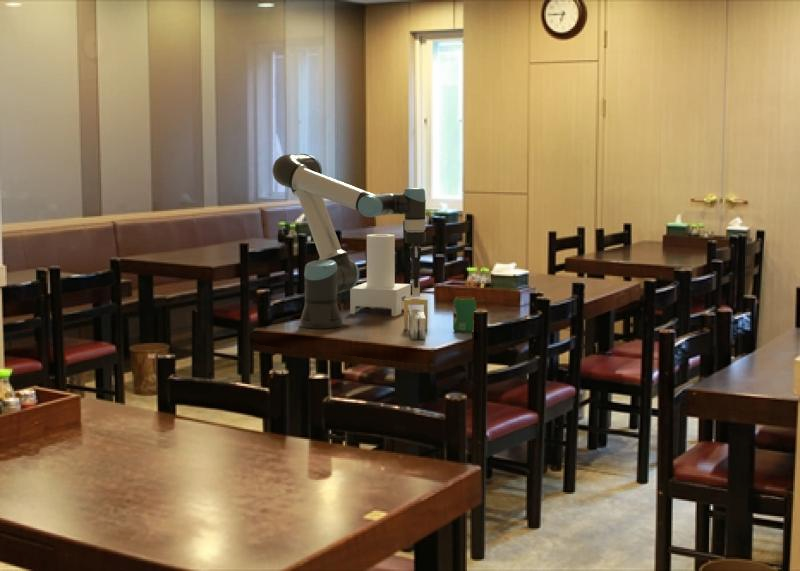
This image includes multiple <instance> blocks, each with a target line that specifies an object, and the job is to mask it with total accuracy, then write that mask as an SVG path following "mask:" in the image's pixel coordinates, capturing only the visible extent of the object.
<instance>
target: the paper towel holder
mask: <svg viewBox="0 0 800 571" xmlns="http://www.w3.org/2000/svg"><path fill="white" fill-rule="evenodd" d="M395 237H396V235H395V234H391V233H390V234H389V233H383V234H382V233H376V234H375V233H374V234H372V233H370V234H367V235H366V282H362V283H361V284H360V283H359V284H358V285H355V286H354V287H353V288H352V289H350V290H349V292H350V294H349V296H350V297H349V299H350V301H349V305H350V307H349V308H350V310H349V311H350V315H355V314H356V312H357V307H360V310H362V309H364V308H390V309H391V316H392V317H397V316H399V315H401V314H402V302H404V299H412V294H411V293H412V283H411V284H410V283H395V282H396V280H395V276H396V275H395V274H396V273H395V272H396V268H395V264H396V260H395V259H396V255H395V253H396V252H395V251H396V250H395V246H396V244H395V243H396V242H395V241H396V240H395V239H396V238H395ZM411 306H412V305H408V311H409V310H411Z"/></svg>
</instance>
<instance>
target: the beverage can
mask: <svg viewBox="0 0 800 571" xmlns="http://www.w3.org/2000/svg"><path fill="white" fill-rule="evenodd" d="M452 304H453V305H452V306H453V309H452V310H453V311H452V316H453V317H452V319H453V321H452V322H453V323H452V328H453V329H452V330H453V331H454V333H456V334H472V330H473V312H474V311H476V312H477V301H476V299H475V297H473V296H456V297H454V300H453V303H452Z"/></svg>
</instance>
